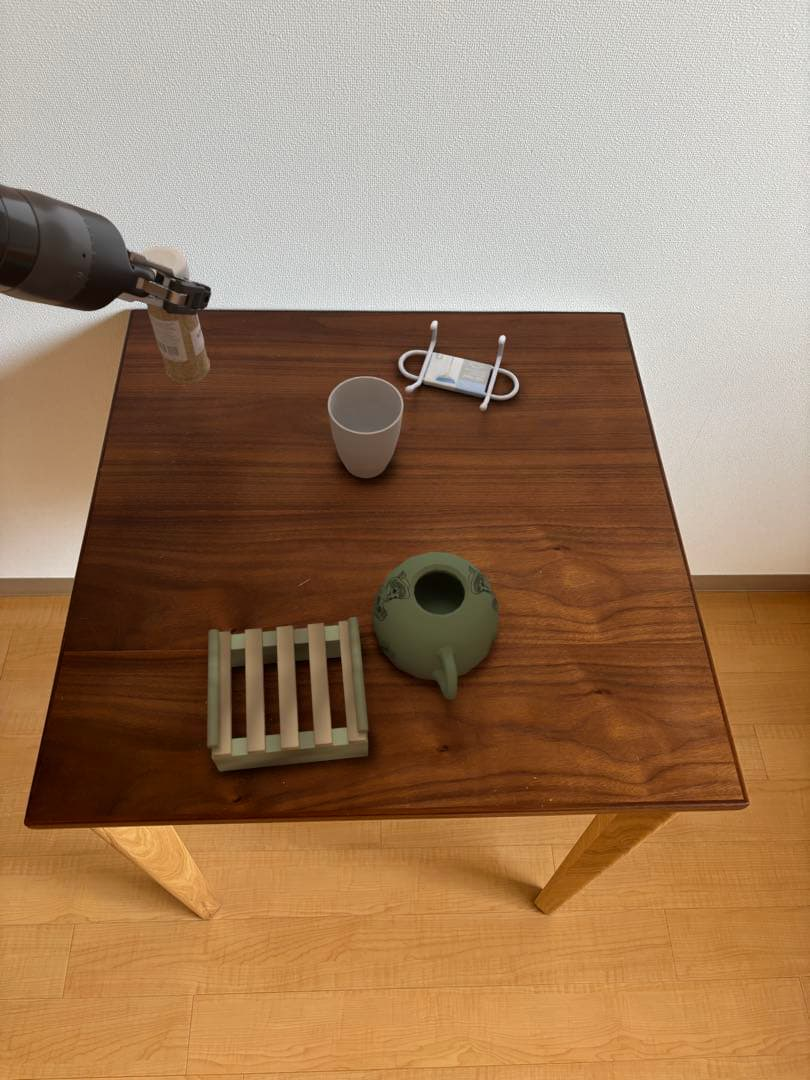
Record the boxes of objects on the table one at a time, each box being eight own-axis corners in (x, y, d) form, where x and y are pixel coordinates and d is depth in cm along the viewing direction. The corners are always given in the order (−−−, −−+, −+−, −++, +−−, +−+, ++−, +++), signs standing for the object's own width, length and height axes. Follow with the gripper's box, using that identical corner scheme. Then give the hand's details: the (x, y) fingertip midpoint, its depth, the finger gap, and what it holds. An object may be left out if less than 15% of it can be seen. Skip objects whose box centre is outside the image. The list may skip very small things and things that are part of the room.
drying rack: (217, 771, 76) (206, 750, 71) (218, 653, 82) (207, 625, 77) (369, 756, 77) (369, 733, 72) (358, 641, 84) (357, 612, 78)
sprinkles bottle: (220, 370, 83) (196, 261, 71) (183, 393, 81) (153, 285, 70) (192, 346, 84) (164, 236, 73) (155, 368, 82) (122, 259, 71)
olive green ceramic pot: (365, 580, 87) (365, 538, 80) (484, 570, 89) (494, 527, 81) (381, 724, 79) (382, 691, 72) (511, 710, 80) (526, 677, 73)
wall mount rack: (524, 365, 105) (532, 332, 100) (504, 445, 98) (511, 413, 93) (407, 340, 107) (409, 305, 102) (379, 416, 100) (379, 383, 95)
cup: (367, 423, 99) (367, 365, 90) (414, 462, 96) (419, 406, 88) (317, 459, 96) (312, 402, 87) (364, 501, 93) (363, 446, 84)
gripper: (139, 235, 57) (259, 276, 73) (-13, 168, 61) (134, 220, 77) (109, 337, 59) (232, 355, 75) (-37, 266, 63) (111, 297, 79)
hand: (182, 287), depth 76 cm, fingers closed on sprinkles bottle, 4 cm apart
